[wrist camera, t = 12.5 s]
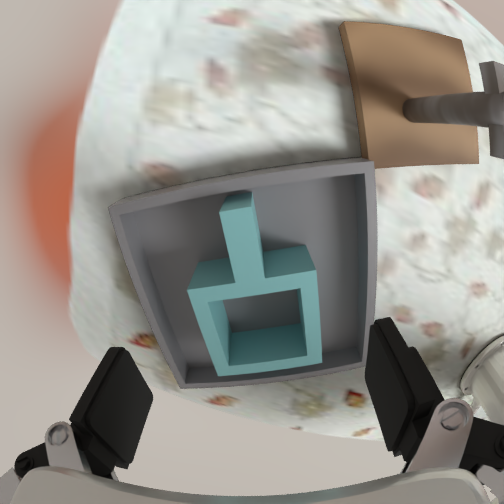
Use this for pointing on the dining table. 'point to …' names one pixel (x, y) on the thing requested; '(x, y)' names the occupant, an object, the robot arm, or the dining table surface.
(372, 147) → the stake board
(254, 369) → the teal hollow frame
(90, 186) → the dining table surface
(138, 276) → the tray
